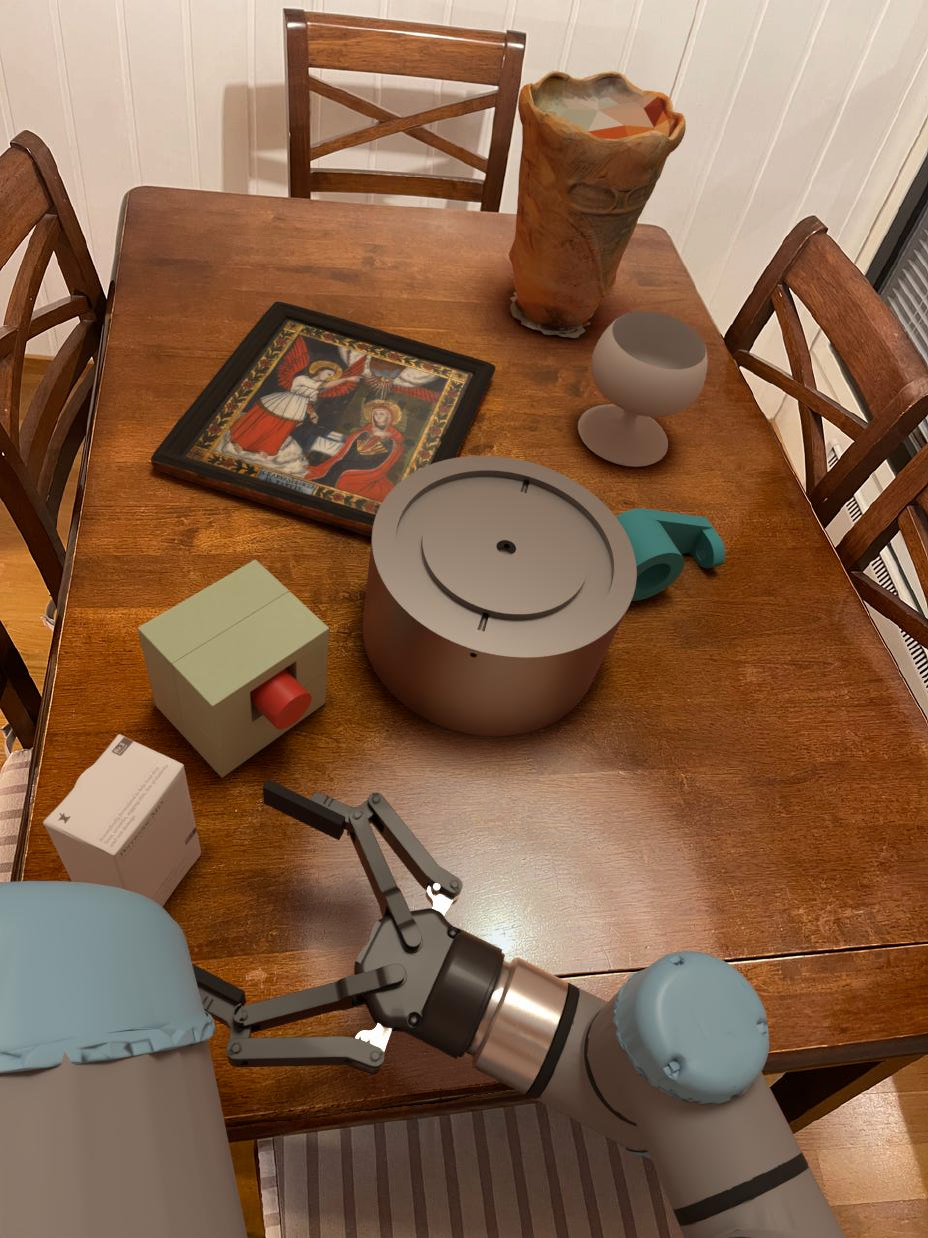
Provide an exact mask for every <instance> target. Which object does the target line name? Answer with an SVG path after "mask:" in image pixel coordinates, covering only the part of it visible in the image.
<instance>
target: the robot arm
mask: <svg viewBox="0 0 928 1238" xmlns="http://www.w3.org/2000/svg"><path fill="white" fill-rule="evenodd" d="M262 795H263V796H262V798H263V805H265V806H268V807H270V808H272V809H273V810H276V811H278V812H280V813H282V814H284V815H286V816H288V817H291V818H292V819H294V820H296V821H298V822H300V823H302V824H304V825H306V826H309V827H311V828H312V829H315V830H317V831H318V832H321V833H322V834H324V835H327V836H329V837H330V838H333V839H335V840H337V841H340V840H341V838H342V836H343V834H344V833H345V831H346V836H347V837H350V841H351V843H352V845H353V847H354V850H355V852H356V855H357V857H358V860H359V861H360V864H361V866H362V868H363V871H364V873H365V876H366V878H367V880H368V883H369V885H370V887H371V891H372V892H373V895H374V897H375V899H376V902H377V904H378V907H379V911H380V914H381V918H379V919H378V920H377V919H376V920H375V922H374V924H373V926H372V928H371V930H370V934H369V939H368V942H367V943H366V944H365V945H364V946H363V947H362V949H360V951H359V952H358V955H357V957H356V959H355V960H354V966H353V974H352V975H350V976H349V975H347V976H345V977H342V978H340V979H339V980H337V981H333V982H330V983H325V984H322V985H318V986H314V987H311V988H307V989H302V990H299V991H295V992H291V993H287V994H284V995H280V996H275V997H271V998H267V999H264V1000H259V1001H256V1002H252V1003H248V1004H247V998H246V992H245V990H244V989H243V988H240V987H237V986H236V985H234V984H232V983H230V982H228V981H226V980H225V979H223V978H221V977H219V976H217V975H215V974H213V973H211V972H209V971H207V970H205V969H204V968H202V967H200V966H198V965H196V964H194V963H193V962H192V958H191V954H190V950H189V946H188V942H187V938H186V935H185V932H184V931H183V929H182V928H181V926H180V924H178V922H177V921H176V920H174V919H173V917H172V916H171V915H170V914H169V912H168V911H167V910H166V909H165V908H164V906H163V907H162V906H160V905H159V904H158V903H157V902H155V901H153V900H152V899H149V898H147V897H145V896H143V895H141V894H138V893H135V892H132V891H129V890H125V889H121V888H117V887H112V886H106V885H99V884H91V883H83V882H72V881H65V880H64V881H63V880H62V881H61V880H25V881H24V880H20V881H19V880H18V881H0V1238H249V1237H248V1232H247V1227H246V1222H245V1218H244V1213H243V1208H242V1203H241V1202H242V1201H241V1197H240V1192H239V1187H238V1182H237V1177H236V1173H235V1168H234V1163H233V1158H232V1153H231V1148H230V1147H231V1146H230V1143H229V1138H228V1133H227V1130H226V1123H225V1119H224V1113H223V1108H222V1104H221V1098H220V1094H219V1087H218V1083H217V1077H216V1074H215V1069H214V1063H213V1058H212V1054H211V1048H210V1044H209V1040H210V1039H211V1038H213V1036H214V1035H215V1034H216V1033H217V1030H216V1024H215V1021H216V1022H218V1023H220V1024H222V1025H223V1026H225V1027H227V1028H228V1029H229V1035H228V1036H229V1037H228V1041H227V1044H226V1048H225V1052H226V1057H227V1061H228V1063H229V1065H230V1066H231V1067H233V1068H276V1067H280V1068H281V1067H313V1066H314V1067H315V1066H316V1067H318V1066H319V1067H320V1066H347V1067H349V1068H352V1069H354V1070H358V1071H360V1072H362V1073H365V1074H368V1075H376V1074H378V1073H379V1072H380V1071H381V1069H382V1067H383V1064H384V1061H385V1057H386V1055H385V1051H386V1048H387V1044H388V1042H389V1039H390V1036H391V1033H392V1032H400V1033H404V1034H407V1035H409V1036H410V1037H413V1038H414V1039H417V1040H419V1041H420V1042H422V1043H424V1044H426V1045H428V1046H430V1047H432V1048H434V1049H435V1050H438V1051H439V1052H441V1053H444V1054H446V1055H448V1056H449V1057H451V1058H453V1059H455V1060H457V1059H458V1058H460V1059H461V1058H464V1055H465V1054H466V1055H470V1056H471V1057H470V1065H471V1066H472V1068H473V1069H475V1070H476V1071H479V1072H480V1073H483V1074H484V1075H485V1076H488V1077H490V1078H492V1079H493V1080H495V1081H497V1082H500V1083H502V1084H503V1085H506V1086H507V1087H509V1088H511V1089H513V1090H514V1091H516V1092H518V1093H521V1094H522V1095H524V1094H525V1095H526V1096H528V1097H530V1098H532V1099H534V1100H536V1101H538V1102H539V1103H541V1104H543V1105H545V1106H547V1107H549V1108H550V1109H553V1110H555V1111H557V1112H558V1113H561V1114H562V1115H564V1116H566V1117H568V1118H569V1119H571V1120H573V1121H575V1122H577V1123H579V1124H581V1125H583V1126H584V1127H587V1128H589V1129H590V1130H593V1131H594V1132H596V1133H598V1134H600V1135H602V1136H603V1137H605V1138H608V1139H609V1140H611V1141H613V1142H615V1143H616V1144H618V1145H620V1147H622V1148H624V1149H625V1151H626V1152H629V1154H632V1155H635V1156H640V1157H644V1158H646V1159H649V1160H651V1161H652V1164H653V1166H654V1169H655V1171H656V1173H657V1175H658V1176H657V1177H658V1179H659V1181H660V1183H661V1185H662V1188H663V1190H664V1192H665V1195H666V1197H667V1199H668V1202H669V1204H670V1207H671V1209H672V1212H673V1214H674V1217H675V1219H676V1221H677V1223H678V1225H679V1230H680V1231H681V1233H682V1236H683V1238H847V1236H846V1234H845V1232H844V1230H843V1229H842V1227H841V1225H840V1223H839V1221H838V1219H837V1217H836V1215H835V1214H834V1210H833V1209H832V1208H831V1205H830V1203H829V1202H828V1199H827V1198H826V1196H825V1193H824V1192H823V1190H822V1189H821V1186H820V1184H819V1182H818V1181H817V1179H816V1177H815V1174H814V1172H813V1170H812V1169H811V1167H810V1166H809V1162H808V1161H807V1159H806V1157H805V1155H804V1153H803V1151H802V1148H801V1146H800V1145H799V1142H798V1141H797V1138H796V1137H795V1134H794V1133H793V1131H792V1129H791V1127H790V1124H789V1123H788V1121H787V1119H786V1117H785V1115H784V1113H783V1111H782V1108H781V1107H780V1105H779V1103H778V1100H777V1099H776V1097H775V1095H774V1093H773V1091H772V1089H771V1087H770V1086H769V1083H768V1082H767V1080H766V1078H765V1076H764V1074H763V1072H762V1071H763V1069H764V1067H765V1065H766V1063H767V1059H768V1056H769V1052H770V1032H769V1025H768V1018H767V1012H766V1009H765V1007H764V1004H763V1001H762V1000H761V997H760V996H759V994H758V993H757V991H756V990H755V988H754V986H753V985H752V984H751V982H750V981H749V980H748V979H747V978H746V977H745V976H744V975H743V974H742V973H741V972H740V971H739V970H737V969H736V968H735V967H733V965H731V964H730V963H728V962H726V961H725V960H723V959H721V958H719V957H718V956H717V957H716V956H714V955H712V954H709V953H706V952H701V951H695V950H694V951H692V950H682V951H676V952H670V953H666V954H665V955H664V956H661V957H660V958H658V959H656V960H655V961H654V962H653V963H651V964H650V965H648V966H647V967H646V968H644V969H640V970H638V971H636V972H635V973H633V974H631V975H630V976H629V977H628V979H627V981H626V982H624V983H623V984H622V986H621V987H620V988H619V990H618V991H617V992H616V993H615V994H614V995H613V996H612V997H611V998H610V999H609V1000H608V1001H607V1000H605V999H603V998H601V997H599V996H597V995H595V994H593V993H591V992H589V991H586V990H585V989H582V988H581V987H578V986H577V985H574V984H572V983H571V982H567V981H566V980H564V979H563V978H560V977H558V976H557V975H554V974H552V973H550V972H549V971H546V970H545V969H543V968H541V967H539V966H536V965H535V964H532V963H530V962H529V961H527V960H525V959H523V958H521V957H519V956H517V957H514V958H512V959H511V961H510V962H509V961H507V960H505V958H506V957H505V956H506V954H505V953H504V952H503V949H502V948H501V947H498V946H497V945H495V944H492V943H491V942H488V941H486V940H484V939H483V938H480V937H478V936H476V935H474V934H472V933H470V932H468V931H466V930H464V929H462V928H459V927H457V926H455V925H453V924H451V923H450V921H448V920H447V919H446V917H445V916H446V915H447V913H448V911H449V910H450V908H451V906H453V905H455V904H456V903H457V902H458V900H459V897H460V894H461V892H462V889H463V881H462V880H461V879H460V878H459V877H458V876H456V875H455V874H453V873H452V872H450V871H448V870H447V869H445V868H443V867H442V866H440V865H439V864H438V863H437V861H436V860H435V859H434V858H433V856H432V855H431V854H430V852H429V851H428V850H427V849H426V848H425V847H424V845H423V844H422V843H421V841H420V840H419V839H418V837H417V836H416V835H415V834H414V833H413V832H412V830H411V829H410V828H409V826H408V825H407V824H406V823H405V821H404V820H403V819H402V818H401V817H400V815H399V814H398V813H397V812H396V810H395V809H394V808H393V806H392V805H391V804H390V803H389V801H388V800H387V799H386V798H385V796H384V795H383V794H382V793H380V792H377V791H375V792H372V793H370V794H369V795H368V798H367V799H366V800H365V801H363V802H362V803H361V804H360V805H359V806H349V805H347V804H345V803H343V802H341V801H340V800H338V799H335V798H333V797H331V796H329V795H327V794H325V793H323V792H316V791H314V792H313V793H312V796H311V797H310V798H308V797H306V796H304V795H301V794H299V793H297V792H296V791H293V790H292V789H289V788H287V787H286V786H283V785H281V784H279V783H277V782H275V781H273V780H271V779H269V778H268V779H267V780H266V782H265V783H264V785H263V786H262ZM371 825H372V826H373V827H374V828H375V830H376V831H377V832H378V834H379V835H380V836H381V837H382V838H383V840H384V841H385V842H386V844H387V845H388V846H389V848H390V849H391V850H392V851H393V853H394V854H395V856H397V858H398V859H399V860H400V861H401V862H402V864H403V865H404V866H405V868H406V870H407V871H408V872H409V873H410V874H411V875H412V877H413V878H414V879H415V880H416V882H417V884H419V886H420V887H421V888H422V889H424V891H426V892H425V898H426V900H427V901H428V902H429V903H430V905H431V908H430V907H427V908H420V909H415V910H410V908H409V905H408V903H407V901H406V899H405V896H404V894H403V892H402V890H401V889H400V887H398V885H397V882H396V880H395V878H394V876H393V873H392V872H391V868H390V866H389V864H388V862H387V859H386V857H385V856H384V853H383V851H382V848H381V846H380V843H379V841H378V840H377V837H376V835H375V833H374V830H373V828H372V826H371ZM362 1006H365V1007H366V1008H367V1010H368V1012H369V1015H370V1017H371V1019H372V1021H373V1023H374V1024H375V1028H373V1029H371V1030H361V1031H359V1032H358V1033H356V1036H355V1037H352V1036H344V1035H343V1036H339V1035H338V1036H337V1035H336V1036H334V1035H333V1036H286V1037H285V1036H284V1037H283V1036H281V1037H280V1036H279V1037H252V1034H254V1033H259V1032H263V1031H266V1030H269V1029H270V1030H271V1029H273V1028H277V1027H280V1026H284V1025H289V1024H291V1023H296V1022H299V1021H302V1020H306V1019H310V1018H314V1017H317V1016H321V1015H325V1014H329V1013H333V1012H337V1011H347V1010H351V1009H355V1008H358V1007H362Z"/></svg>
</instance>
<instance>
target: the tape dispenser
mask: <svg viewBox="0 0 928 1238" xmlns="http://www.w3.org/2000/svg"><path fill="white" fill-rule="evenodd" d="M615 517H616V518H617V519H618V521H619V522H620V524H621V525H622V527H623V528H624V530H625V532H626V534H627V536H628V538H629V540H630V542H631V545H632V548H633V551H634V555H635V560H636V568H637V578H636V586H635V591H634V594H633V598H632V600H631V602H636V601H642V600H645V599H648V598H651V597H653V596H656V595H658V594H659V593H661V592H662V591H664V590H665V589H667V588H668V587H670V586H671V585H672V584H673V583H674V582H675V581H676V580H677V579H678V578H679V577H680V575H681V573H682V572H683V571H684V568H685V558H684V556H683V555H685V554H689V553H690V554H691V556H692V557H693V559H694V560H695V562H696V563H697V564H698V565H699V566H700V567H702V568H703V569H712V568H715V567H720V566H722V565H724V564H725V562H726V548H725V544H724V541H723V540H722V538H721V536H720V535H719V534H718V532H717V531H716V529H715V528H714V526H713V525H712V523H711V522H710V521H709V519H708V518H707V517H706V516H699V515H693V514H685V513H679V512H678V513H677V512H670V511H664V510H657V509H649V508H633V509H629V510H626V511H624V512H622V513H619V514H618V515H615Z"/></svg>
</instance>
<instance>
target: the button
mask: <svg viewBox="0 0 928 1238" xmlns="http://www.w3.org/2000/svg"><path fill="white" fill-rule="evenodd" d="M250 700H251V703H252V704H253V705H254V706H255V707H256V708H257V709H258V710H259V711H260V712H261V713H262V714H263V715H264V717H265V718H266V719H267V720H268V721H269V722H270V723H271V724H272V725H273V726H274V727H275V728H276V729H285V728H287V727H289V726H291V725H292V724H294V723H295V722H296V721H297V720H299V719H300V718H301V717H302V716H303V714H304V713H305V712H306V711H307V709H308V708H309V706H310V704H311V701H312V696H311V694H310V693H309V692H308V691H307V690H306V689H305V688H304V687H303V686H302V685H301V684H300V683H299V682H298V681H297V680H296V679H295V678H294V677H293V676H292V675H290V674H289V673H288V672H287V671H286V670H285V669H283V670H282V671H280V672H279V673H277V674H276V675H275V676H273V677H272V678H270V679H269V680H267V681H266V682H264V683H263V684H261V685H260V686H258V687H257V688H255V689H254V690H252V691H251V692H250Z"/></svg>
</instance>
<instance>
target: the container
mask: <svg viewBox="0 0 928 1238" xmlns="http://www.w3.org/2000/svg"><path fill="white" fill-rule="evenodd" d="M367 568H368V570H367V578H366V589H365V590H366V591H365V598H364V608H363V618H362V639H363V644H364V648H365V653H366V656H367V658H368V660H369V664H370V665H371V667H372V669H373V671H374V673H375V674H376V676H377V677H378V679H379V680H380V682H381V683H382V684H383V686H384V687H385V688H386V689H387V690H388V692H389V693H390V694H391V695H392V696H393V697H394V698H395V699H396V700H397V701H399V702H400V703H401V704H402V705H404V706H405V707H406V708H407V709H408V710H410V711H412V712H413V713H415V714H416V715H418V716H419V717H421V718H423V719H425V720H427V721H428V722H431V723H433V724H435V725H437V726H440V727H442V728H446V729H448V730H451V731H455V732H458V733H463V734H467V735H473V736H478V737H479V736H480V737H481V736H483V737H509V736H511V737H512V736H515V735H516V736H518V735H522V734H523V735H524V734H528V733H531V732H535V731H537V730H540V729H542V728H545V727H547V726H549V725H552V724H554V723H556V722H557V721H559V720H561V719H562V718H563V717H565V716H566V715H568V713H570V712H572V710H573V709H575V707H577V705H578V704H580V702H581V701H582V700H583V699H584V697H585V696H586V695H587V693H588V691H589V689H590V687H591V685H592V683H593V681H594V679H595V677H596V675H597V674H598V672H599V669H600V667H601V665H602V662H603V660H604V659H605V656H606V655H607V652H608V651H609V648H610V646H611V644H612V642H613V640H614V638H615V636H616V633H617V631H618V630H619V628H620V626H621V624H622V621H623V619H624V617H625V615H626V613H627V611H628V609H629V607H630V605H631V603H632V601H631V600H632V598H633V594H634V591H635V586H636V578H637V568H636V560H635V555H634V551H633V548H632V545H631V542H630V540H629V538H628V536H627V534H626V532H625V530H624V528H623V527H622V525H621V524H620V522H619V521H618V519H617V518H616V515H615V514H614V512H613V511H612V510H610V508H609V507H608V506H607V505H606V504H605V503H604V502H603V501H602V500H601V499H600V498H599V497H597V496H596V495H595V494H594V493H593V492H592V491H590V490H589V489H588V488H586V487H585V486H583V485H582V484H580V483H578V482H577V481H575V480H574V479H572V478H570V477H568V476H566V475H564V474H562V473H561V472H558V471H557V470H555V469H554V470H553V469H551V468H549V467H546V466H544V465H540V464H537V463H535V462H531V461H528V460H523V459H520V458H519V459H518V458H513V457H508V456H507V457H506V456H497V455H468V456H467V455H465V456H459V457H458V456H457V458H452V459H447V460H443V461H440V462H436V463H433V464H431V465H428V466H426V467H423V468H421V469H419V470H417V471H415V472H414V473H412V474H410V475H409V476H407V477H406V478H405V479H403V480H402V481H401V482H399V483H398V484H397V485H396V486H395V487H394V488H393V489H392V490H391V491H390V492H389V494H388V495H387V496H386V498H385V499H384V501H383V502H382V504H381V506H380V508H379V510H378V512H377V514H376V517H375V520H374V525H373V531H372V537H371V541H370V550H369V561H368V567H367Z"/></svg>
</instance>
